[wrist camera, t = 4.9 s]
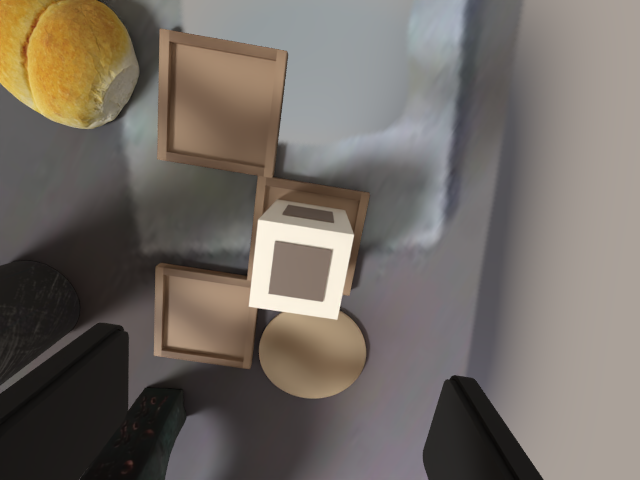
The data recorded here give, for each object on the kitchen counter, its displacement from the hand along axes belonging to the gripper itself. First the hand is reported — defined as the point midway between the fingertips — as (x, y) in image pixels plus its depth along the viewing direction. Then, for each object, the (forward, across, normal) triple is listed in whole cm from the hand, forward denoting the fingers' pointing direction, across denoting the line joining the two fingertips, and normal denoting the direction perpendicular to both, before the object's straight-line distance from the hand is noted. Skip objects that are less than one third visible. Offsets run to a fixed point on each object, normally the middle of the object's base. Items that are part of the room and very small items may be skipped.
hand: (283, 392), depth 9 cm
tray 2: (+16, +7, +7) cm, 19 cm away
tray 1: (+15, +7, -9) cm, 19 cm away
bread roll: (+16, +17, -11) cm, 26 cm away
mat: (+16, -2, +9) cm, 18 cm away
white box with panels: (+15, 0, -1) cm, 15 cm away
